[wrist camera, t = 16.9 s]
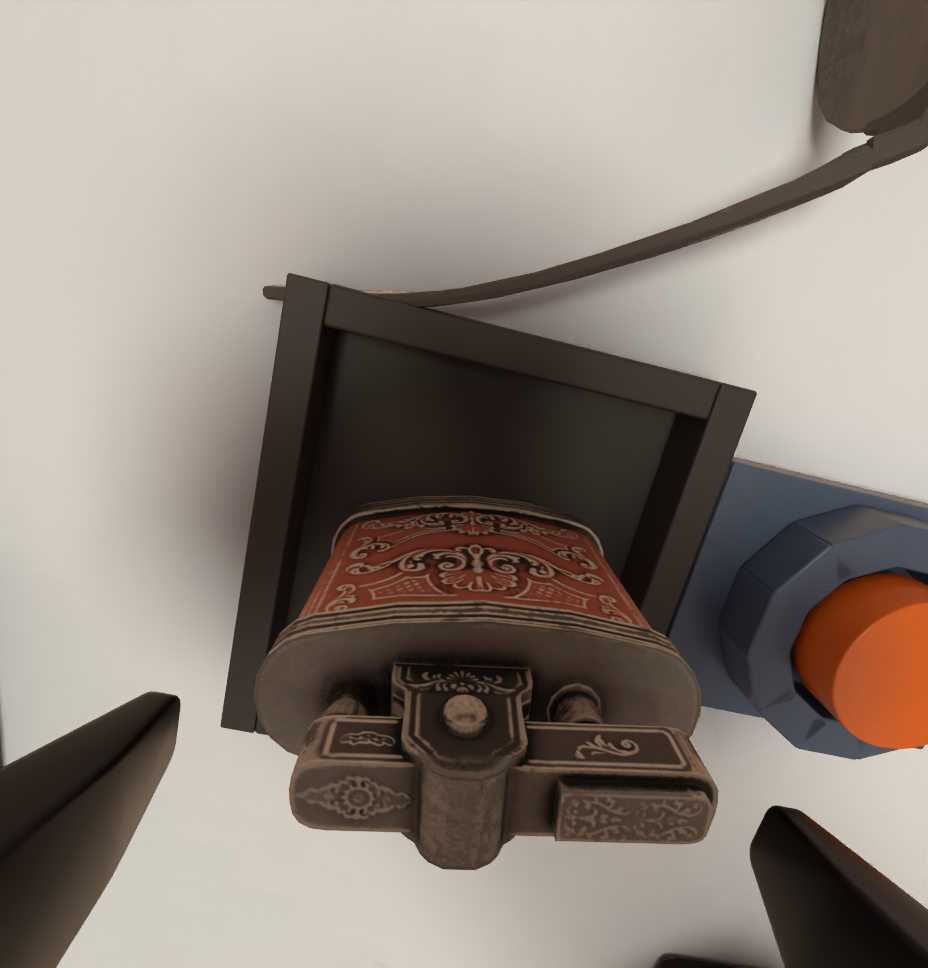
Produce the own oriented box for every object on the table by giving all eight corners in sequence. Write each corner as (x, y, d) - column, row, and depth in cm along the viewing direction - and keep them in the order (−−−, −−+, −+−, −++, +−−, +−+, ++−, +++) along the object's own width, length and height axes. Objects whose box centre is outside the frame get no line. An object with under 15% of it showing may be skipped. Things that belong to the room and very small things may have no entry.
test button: (972, 590, 16) (1035, 621, 14) (904, 719, 17) (954, 762, 15) (830, 557, 15) (877, 586, 14) (769, 691, 16) (806, 733, 15)
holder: (713, 382, 16) (759, 391, 14) (586, 740, 20) (605, 797, 17) (312, 281, 15) (287, 271, 13) (248, 676, 19) (219, 727, 16)
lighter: (336, 591, 17) (196, 915, 8) (336, 488, 17) (179, 710, 7) (589, 603, 18) (755, 927, 8) (603, 502, 17) (808, 733, 7)
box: (1003, 522, 18) (1109, 559, 15) (895, 726, 20) (971, 793, 17) (715, 452, 17) (769, 478, 14) (633, 673, 19) (666, 734, 16)
